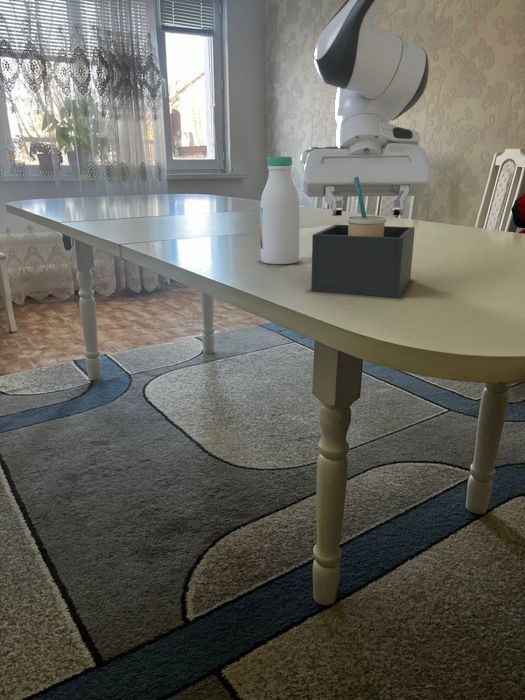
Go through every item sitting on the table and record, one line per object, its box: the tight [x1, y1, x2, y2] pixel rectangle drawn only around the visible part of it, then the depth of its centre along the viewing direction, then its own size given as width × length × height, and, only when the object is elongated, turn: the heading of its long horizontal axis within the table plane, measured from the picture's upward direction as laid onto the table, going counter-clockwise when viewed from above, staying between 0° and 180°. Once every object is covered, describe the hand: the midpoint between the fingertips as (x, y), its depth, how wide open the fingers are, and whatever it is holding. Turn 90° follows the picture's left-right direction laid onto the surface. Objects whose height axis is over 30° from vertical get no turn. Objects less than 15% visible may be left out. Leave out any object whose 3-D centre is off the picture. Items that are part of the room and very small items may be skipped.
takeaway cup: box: [347, 177, 387, 237], centre depth 86 cm, size 6×6×16 cm
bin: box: [310, 223, 416, 299], centre depth 88 cm, size 14×14×9 cm
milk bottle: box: [259, 156, 300, 265], centre depth 106 cm, size 8×8×20 cm
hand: (367, 213), depth 85 cm, fingers open, 8 cm apart
